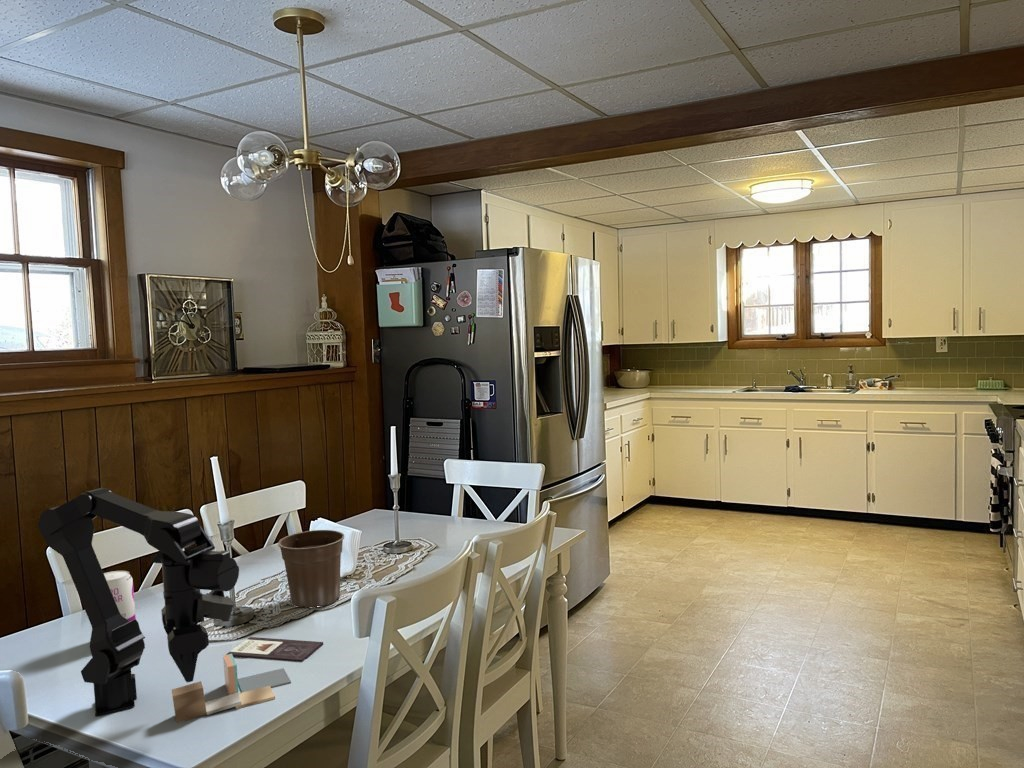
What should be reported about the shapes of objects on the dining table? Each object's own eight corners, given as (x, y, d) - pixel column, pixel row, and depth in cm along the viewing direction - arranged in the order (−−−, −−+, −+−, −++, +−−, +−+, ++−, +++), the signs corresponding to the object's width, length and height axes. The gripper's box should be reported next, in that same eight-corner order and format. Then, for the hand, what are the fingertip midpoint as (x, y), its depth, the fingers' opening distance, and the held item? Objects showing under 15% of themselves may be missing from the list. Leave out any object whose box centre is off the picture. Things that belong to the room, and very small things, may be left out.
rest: (236, 709, 141) (235, 706, 141) (231, 698, 145) (231, 695, 145) (275, 699, 144) (275, 696, 144) (270, 688, 148) (269, 685, 148)
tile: (229, 697, 145) (227, 667, 145) (225, 685, 151) (223, 655, 150) (238, 695, 146) (236, 665, 146) (233, 683, 152) (231, 653, 151)
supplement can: (129, 629, 181) (124, 567, 180) (142, 639, 175) (137, 574, 174) (91, 640, 175) (86, 576, 174) (103, 650, 169) (98, 584, 168)
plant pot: (299, 617, 185) (295, 551, 184) (271, 601, 197) (267, 539, 196) (359, 599, 196) (356, 537, 194) (328, 585, 208) (325, 526, 206)
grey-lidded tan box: (177, 724, 136) (173, 697, 136) (175, 714, 140) (171, 688, 139) (241, 704, 141) (238, 678, 141) (238, 695, 145) (234, 670, 144)
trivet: (242, 695, 146) (242, 693, 146) (237, 680, 152) (237, 679, 152) (291, 683, 150) (291, 681, 150) (283, 669, 156) (283, 668, 156)
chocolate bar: (302, 660, 160) (226, 654, 164) (302, 664, 160) (226, 658, 164) (323, 642, 168) (250, 636, 173) (323, 646, 169) (250, 641, 173)
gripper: (236, 593, 133) (242, 680, 134) (221, 565, 149) (226, 643, 150) (166, 606, 128) (172, 697, 129) (158, 575, 144) (164, 656, 145)
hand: (187, 671), depth 138 cm, fingers open, 9 cm apart
